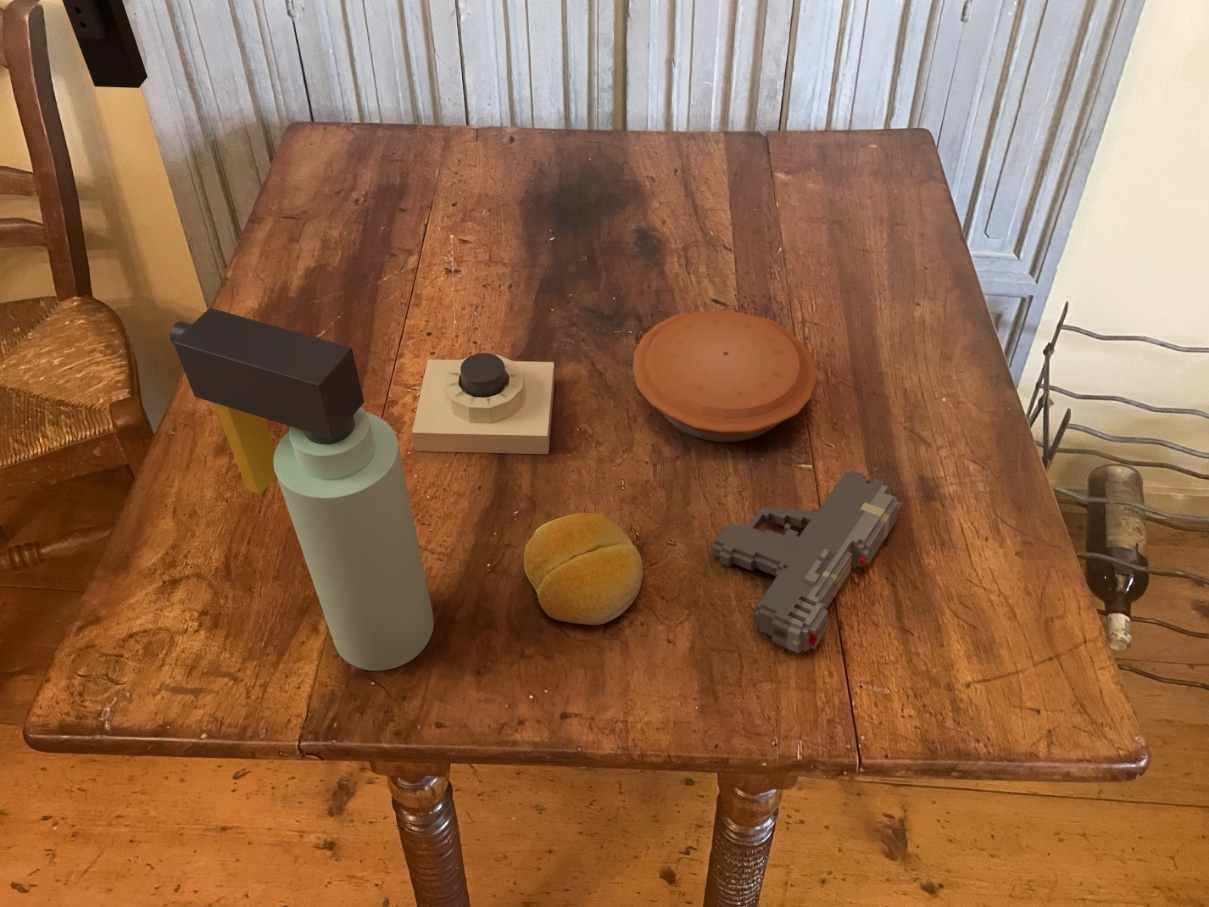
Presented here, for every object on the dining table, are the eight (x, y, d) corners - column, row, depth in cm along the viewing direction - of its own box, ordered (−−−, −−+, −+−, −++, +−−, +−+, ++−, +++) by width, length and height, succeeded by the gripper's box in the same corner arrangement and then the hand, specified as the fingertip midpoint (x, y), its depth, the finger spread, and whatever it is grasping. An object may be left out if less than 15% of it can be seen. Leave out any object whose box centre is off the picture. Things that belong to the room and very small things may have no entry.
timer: (415, 451, 81) (408, 416, 78) (430, 377, 87) (425, 343, 84) (548, 454, 81) (547, 419, 78) (554, 380, 87) (553, 346, 84)
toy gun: (680, 575, 70) (809, 631, 65) (785, 444, 79) (905, 484, 74) (683, 608, 72) (808, 665, 67) (784, 477, 81) (901, 518, 76)
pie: (826, 458, 81) (837, 415, 77) (638, 465, 80) (641, 421, 77) (791, 337, 92) (799, 294, 88) (625, 342, 91) (626, 299, 87)
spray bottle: (249, 628, 69) (129, 358, 51) (305, 554, 74) (212, 282, 56) (403, 684, 66) (332, 420, 48) (451, 604, 71) (403, 334, 53)
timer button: (459, 397, 80) (457, 381, 79) (465, 368, 83) (463, 352, 81) (503, 398, 80) (502, 382, 79) (507, 369, 83) (506, 353, 81)
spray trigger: (246, 490, 61) (211, 400, 55) (269, 464, 62) (237, 373, 57) (260, 495, 60) (226, 404, 55) (282, 468, 62) (252, 377, 56)
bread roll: (557, 646, 68) (555, 614, 66) (512, 552, 74) (509, 518, 71) (663, 606, 71) (666, 573, 68) (612, 518, 76) (613, 484, 73)
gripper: (-54, -426, 38) (144, 137, 55) (82, -454, 47) (216, 37, 64) (-245, -430, 38) (11, 133, 55) (-73, -457, 47) (101, 34, 64)
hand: (121, 81), depth 60 cm, fingers closed
